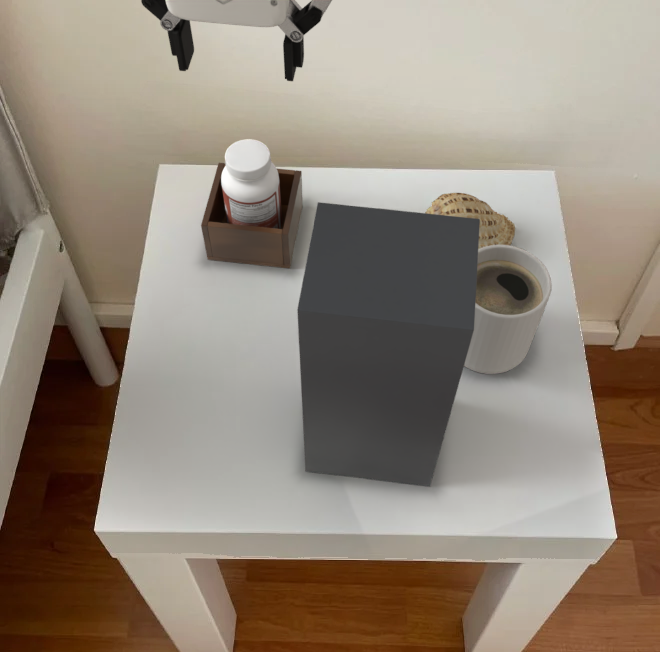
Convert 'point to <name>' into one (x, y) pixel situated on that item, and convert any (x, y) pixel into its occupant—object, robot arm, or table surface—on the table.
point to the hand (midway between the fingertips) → (239, 66)
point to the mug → (506, 307)
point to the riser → (383, 338)
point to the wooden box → (253, 227)
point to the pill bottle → (251, 186)
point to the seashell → (476, 217)
